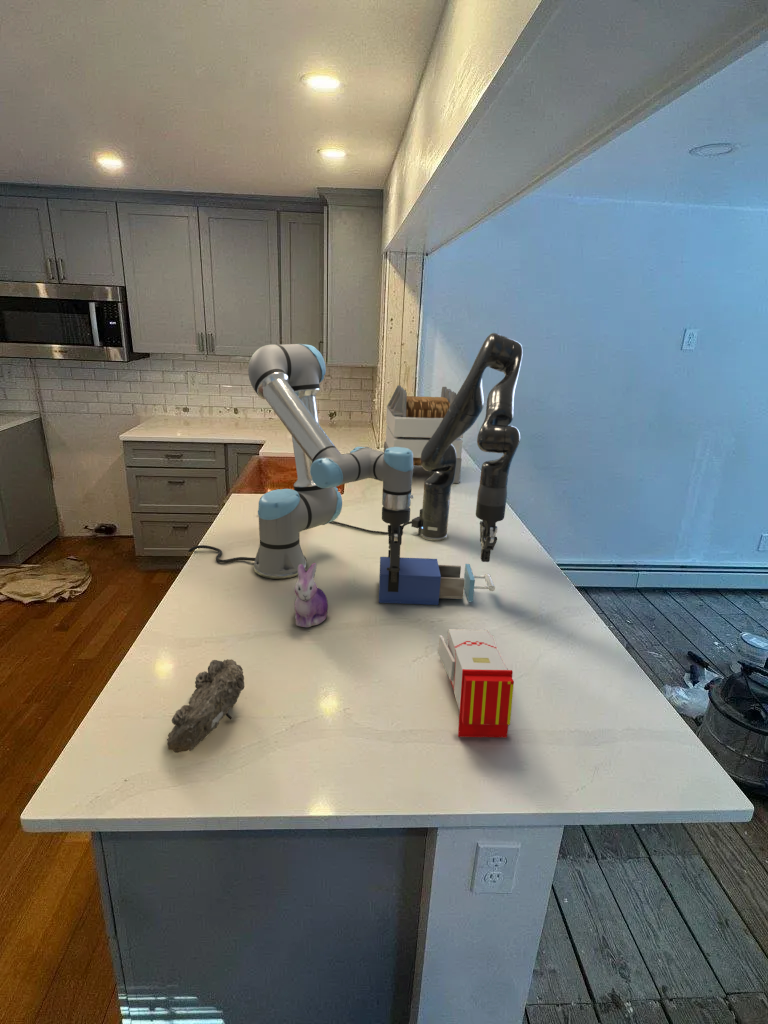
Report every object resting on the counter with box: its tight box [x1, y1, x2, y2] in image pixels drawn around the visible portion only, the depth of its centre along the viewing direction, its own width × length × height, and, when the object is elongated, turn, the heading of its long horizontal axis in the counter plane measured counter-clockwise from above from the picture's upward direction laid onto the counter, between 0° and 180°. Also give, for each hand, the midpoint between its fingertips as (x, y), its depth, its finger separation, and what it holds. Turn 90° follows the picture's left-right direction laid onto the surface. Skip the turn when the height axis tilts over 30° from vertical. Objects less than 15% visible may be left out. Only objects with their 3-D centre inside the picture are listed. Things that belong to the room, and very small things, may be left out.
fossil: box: [166, 658, 245, 754], centre depth 106 cm, size 22×10×15 cm
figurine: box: [293, 562, 329, 628], centre depth 140 cm, size 9×10×15 cm
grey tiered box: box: [383, 384, 464, 484], centre depth 268 cm, size 34×33×41 cm
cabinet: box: [378, 556, 441, 606], centre depth 157 cm, size 16×11×8 cm
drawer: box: [438, 563, 496, 603], centre depth 157 cm, size 21×10×7 cm, turn 90°
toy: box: [437, 628, 515, 738], centre depth 117 cm, size 12×13×30 cm
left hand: (392, 581), depth 157 cm, fingers closed on cabinet, 11 cm apart
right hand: (484, 560), depth 155 cm, fingers closed
